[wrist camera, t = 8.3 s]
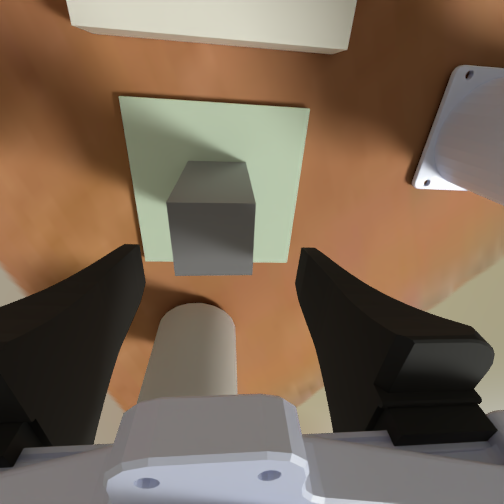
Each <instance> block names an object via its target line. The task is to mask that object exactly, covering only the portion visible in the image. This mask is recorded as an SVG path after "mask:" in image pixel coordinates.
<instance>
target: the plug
mask: <svg viewBox="0 0 504 504" xmlns="http://www.w3.org/2000/svg"><path fill="white" fill-rule="evenodd" d="M166 205H167V213H168V222H169V230H170V238H171V246H172V254H173V262H174V270H175V276H197V275H252V268H253V249H254V230H255V212H256V202H255V198H254V194H253V190H252V186H251V181H250V177H249V173H248V169H247V165H246V162H216V161H188V162H187V164H186V166H185V168H184V170H183V171H182V173H181V175H180V177H179V179H178V181H177V183H176V185H175V187H174V188H173V190H172V192H171V194H170V196H169V198H168V200H167V202H166Z"/></svg>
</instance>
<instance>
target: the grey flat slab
mask: <svg viewBox="0 0 504 504" xmlns="http://www.w3.org/2000/svg"><path fill="white" fill-rule="evenodd" d="M66 1H67V6H68V11H69V15H70V20H71V25H72V26H75V27H77V28H80V29H82V30H85V31H88V32H90V33H93V34H102V35H114V36H125V37H137V38H148V39H160V40H171V41H183V42H194V43H206V44H217V45H229V46H240V47H252V48H264V49H275V50H287V51H298V52H310V53H321V54H335V53H338V52H342V51H345V50H347V49H348V44H349V39H350V34H351V28H352V23H353V18H354V13H355V8H356V3H357V0H66Z"/></svg>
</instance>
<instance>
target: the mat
mask: <svg viewBox="0 0 504 504" xmlns="http://www.w3.org/2000/svg"><path fill="white" fill-rule="evenodd" d="M119 102H120V108H121V114H122V121H123V127H124V133H125V139H126V145H127V151H128V157H129V163H130V169H131V176H132V182H133V188H134V194H135V200H136V206H137V212H138V218H139V224H140V231H141V237H142V243H143V249H144V255H145V261H171V262H173V254H172V246H171V238H170V230H169V222H168V213H167V205H166V202H167V200H168V198H169V196H170V194H171V192H172V190H173V188H174V187H175V185H176V183H177V181H178V179H179V177H180V175H181V173H182V171H183V170H184V168H185V166H186V164H187V162H188V161H216V162H246V165H247V169H248V173H249V177H250V181H251V186H252V190H253V194H254V198H255V202H256V212H255V230H254V249H253V262H277V263H287V258H288V252H289V245H290V238H291V232H292V225H293V219H294V212H295V205H296V199H297V192H298V186H299V179H300V172H301V166H302V159H303V153H304V146H305V139H306V133H307V126H308V120H309V113H310V109H309V108H297V107H282V106H267V105H252V104H237V103H222V102H207V101H192V100H176V99H161V98H146V97H131V96H119Z"/></svg>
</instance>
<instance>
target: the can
mask: <svg viewBox="0 0 504 504" xmlns="http://www.w3.org/2000/svg"><path fill="white" fill-rule="evenodd" d="M210 395H237V366H236V335H235V325H234V323H233V320H232V318H231V317H230V316H229V315H228V314H227V313H226V312H225V311H223V310H221V309H219V308H217V307H215V306H213V305H208V304H204V303H188V304H184V305H180V306H177V307H175V308H173V309H172V310H170V311H168V312H167V313H166V314H165V315H164V317H163V318H162V319H161V321H160V324H159V328H158V331H157V335H156V338H155V342H154V345H153V349H152V352H151V356H150V359H149V363H148V366H147V370H146V373H145V377H144V380H143V384H142V387H141V391H140V394H139V398H138V401H137V404H138V403H139V402H141V401H145V400H150V399H155V398H160V397H180V396H210Z"/></svg>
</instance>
